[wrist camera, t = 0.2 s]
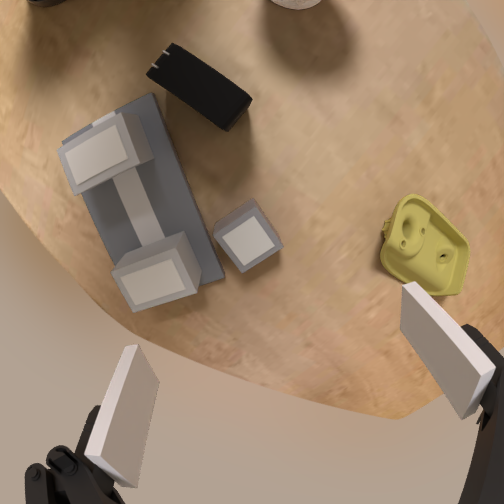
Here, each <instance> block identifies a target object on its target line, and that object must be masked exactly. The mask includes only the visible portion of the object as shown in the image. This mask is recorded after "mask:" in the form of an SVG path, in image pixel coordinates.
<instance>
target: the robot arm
mask: <svg viewBox="0 0 504 504" xmlns="http://www.w3.org/2000/svg"><path fill="white" fill-rule="evenodd" d="M27 1H29V2H30V3H32V4H34V5H37V6H40V7H48V6H53V5H56V4H59V3H61V2H63V1H65V0H27ZM400 330H401V331H402V333H403V334H404V336H405V337H406V338H407V340H408V341H409V342H410V344H411V345H412V347H413V348H414V350H415V351H416V352H417V354H418V355H419V357H420V358H421V360H422V361H423V362H424V364H425V365H426V367H427V368H428V370H429V371H430V373H431V374H432V376H433V377H434V379H435V380H436V382H437V383H438V385H439V386H440V388H441V389H442V391H443V392H444V394H445V395H446V397H447V398H448V400H449V401H450V403H451V405H452V406H453V408H454V409H455V411H456V412H457V414H458V416H459V417H460V419H461V420H463V419H465V418H467V417H468V416H470V415H472V414H474V413H475V412H476V410H477V408H478V406H479V404H480V405H481V406H482V407H483V411H482V413H481V415H480V417H479V418H478V421H477V423H476V424H479V422H480V426H479V431H478V436H477V441H476V445H475V449H474V453H473V457H472V461H471V465H470V468H469V472H468V475H467V479H466V482H465V485H464V488H463V491H462V494H461V497H460V500H459V503H458V504H504V358H503V356H502V355H501V354H500V353H499V352H498V351H497V350H496V349H495V348H494V347H493V345H492V344H491V343H489V341H488V340H487V339H486V338H485V337H483V335H482V334H481V333H480V332H479V331H478V330H477V329H476V328H474V327H472V326H470V325H468V324H465V325H463V326H461V327H460V326H459V325H458V324H457V323H456V322H455V321H454V320H453V319H452V318H451V317H450V316H449V315H448V314H447V313H446V312H445V310H444V309H443V308H442V307H441V306H440V305H439V304H438V303H437V302H436V301H435V300H434V299H433V298H432V297H431V296H430V295H429V294H428V293H427V292H426V291H425V290H424V289H423V288H422V287H420V286H419V285H418V284H417V283H416V282H415V281H414V282H411V283H408V284H404V285H402V302H401V320H400ZM158 386H159V380H158V379H157V377H156V375H155V373H154V372H153V370H152V368H151V366H150V365H149V363H148V361H147V359H146V358H145V356H144V354H143V352H142V350H141V348H140V346H139V344H135V345H128V346H125V348H124V351H123V353H122V355H121V358H120V360H119V362H118V365H117V367H116V370H115V372H114V374H113V377H112V379H111V382H110V385H109V387H108V389H107V392H106V395H105V398H104V400H103V402H102V405H100V406H98V405H97V406H95V407H94V408H93V410H92V411H91V412H90V413H89V415H88V418H87V420H86V424H85V426H84V429H83V431H82V434H81V436H80V440H79V442H78V445H77V447H76V450H75V453H73V452H72V451H71V450H70V449H69V448H68V447H66V446H63V445H59V446H56V447H54V448H53V449H52V450H50V452H49V453H48V455H47V458H46V464H47V465H48V466H49V467H50V468H51V469H46V468H45V467H44V466H43V465H42V464H39V463H35V464H32V465H30V467H28V468H27V470H26V472H25V497H26V504H125V503H124V501H123V500H122V498H121V496H120V495H119V493H118V491H117V490H116V489H115V488H114V487H113V486H114V481H115V482H117V483H118V484H119V485H120V486H122V487H130V488H137V487H138V481H139V476H140V470H141V465H142V460H143V454H144V450H145V445H146V440H147V435H148V430H149V426H150V421H151V416H152V412H153V408H154V403H155V399H156V395H157V391H158Z"/></svg>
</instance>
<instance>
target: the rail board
mask: <svg viewBox="0 0 504 504" xmlns="http://www.w3.org/2000/svg"><path fill="white" fill-rule="evenodd" d="M62 144H63V146H62V147H60V148H59V149H57V152H58V155H59V158H60V160H61V163H62V166H63V168H64V171H65V174H66V176H67V179H68V181H69V184H70V186H71V189H72V191H73V194H74V196H76V195H78V194H80V193H81V194H82V196H83V199H84V201H85V203H86V206H87V208H88V210H89V213H90V215H91V217H92V219H93V221H94V224H95V226H96V228H97V230H98V232H99V234H100V237H101V239H102V241H103V243H104V245H105V247H106V249H107V251H108V253H109V255H110V257H111V259H112V261H113V263H114V265H115V267H114V268H113V270H112V271H111V274H112V276H113V278H114V280H115V282H116V284H117V285H118V287H119V289H120V291H121V293H122V294H123V296H124V298H125V300H126V302H127V303H128V305H129V307H130V308H131V310H132V312H133V313H135V312H138V311H141V310H145V309H148V308H151V307H154V306H157V305H161V304H164V303H167V302H170V301H173V300H177V299H180V298H183V297H186V296H189V295H192V294H195V293H197V291H198V287H199V286H201V285H204V284H207V283H210V282H213V281H216V280H219V279H222V278H225V272H224V269H223V267H222V265H221V262H220V260H219V258H218V255H217V253H216V250H215V248H214V246H213V243H212V241H211V238H210V236H209V233H208V231H207V229H206V226H205V224H204V221H203V219H202V216H201V214H200V211H199V209H198V206H197V204H196V201H195V199H194V196H193V194H192V191H191V189H190V186H189V184H188V181H187V179H186V176H185V174H184V171H183V169H182V166H181V163H180V161H179V158H178V156H177V153H176V150H175V148H174V145H173V143H172V140H171V137H170V135H169V132H168V129H167V127H166V124H165V121H164V119H163V116H162V113H161V111H160V108H159V105H158V102H157V100H156V97H155V94H154V93H149V94H147V95H145V96H142V97H140V98H138V99H136V100H134V101H132V102H130V103H128V104H126V105H124V106H122V107H120V108H118V109H116V110H114V111H113V112H111V113H109V114H107V115H105V116H103V117H102V118H100V119H98V120H96V121H94V122H93V123H91V124H89V125H88V126H86V127H84V128H82V129H81V130H79V131H78V132H76V133H74V134H73V135H71V136H69V137H68V138H66V139H65V140H63V141H62Z"/></svg>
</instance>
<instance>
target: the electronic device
mask: <svg viewBox="0 0 504 504" xmlns="http://www.w3.org/2000/svg"><path fill="white" fill-rule="evenodd" d="M162 52H163V54H162V55H161V56H160V57H159V59H158V60H157V61H156V62H155V63H154V64H153V63H152V64H151V65H152V66H153V67H151V68H150V70H149V71H148V72H147V73H146V75H147V76H148V77H149V78H150V79H152V80H153V81H155V82H156V83H158V84H159V85H161V86H162V87H164V88H165V89H166V90H168V91H169V92H171V93H172V94H174V95H175V96H177V97H178V98H179V99H181V100H182V101H184V102H185V103H187V104H188V105H189V106H191V107H192V108H194V109H195V110H196V111H198V112H199V113H200V114H202V115H203V116H205V117H206V118H207V119H209V120H210V121H211V122H213V123H214V124H215V125H217V126H218V127H219V128H221V129H222V130H225V131H227V132H228V131H229V130H230V129H231V127H232V126H233V125H234V124H235V123H236V121H237V120H238V119H239V118H240V117H241V116H242V114H243V113H244V112H245V111H246V110H247V109H248V107H249V106H250V104H251V102H252V100H253V99H252V98H251V97H250V95H249V94H248V93H246V92H245V91H244V90H242V89H241V88H240V87H238V86H237V85H236V84H234V83H233V82H232V81H230V80H229V79H227V78H226V77H225V76H223V75H222V74H220V73H219V72H218V71H216V70H215V69H213V68H212V67H210V66H209V65H207V64H206V63H204V62H203V61H201V60H200V59H198V58H197V57H195V56H194V55H192V54H191V53H189V52H188V51H186V50H185V49H183V48H182V47H180V46H178V45H176V44H174V43H171V45H170V46H169V47H168V48H167V49H166V50H163V51H162ZM156 65H157V66H156ZM154 67H155V68H154Z"/></svg>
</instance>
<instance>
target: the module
mask: <svg viewBox="0 0 504 504" xmlns="http://www.w3.org/2000/svg"><path fill="white" fill-rule="evenodd" d="M213 236H214V238H215V239H216V240H217V242H218V243H219V244H220V246H221V247H222V248H223V249H224V251H225V252H226V253H227V255H228V256H229V257H230V259H231V260H232V261H233V262H234V264H235V265H236V266H237V268H238V269H239V270H240V271H241V273H244V272H245V271H247V270H249V269H250V268H252V267H253V266H255V265H256V264H258V263H260V262H261V261H263V260H264V259H266V258H267V257H269V256H271V255H272V254H274V253H275V252H277V251H278V250H280V249H282V248H283V247H284V246H283V244H282V242H281V239H280V237H279V235H278V233H277V231H276V230H275V228H274V227H273V226H272V224H271V223H270V221H269V220H268V218H267V217H266V215H265V214H264V212H263V211H262V210H261V208H260V207H259V205H258V204H257V202H256V201H255V199H254V198H252V199H250V200H249V201H247V202H246V203H244V204H243V205H241V206H240V207H238V208H237V209H235V210H234V211H232V212H231V213H230V214H228V215H227V216H225V217H224V218H222V219H221V220H219V221H218V222H216V223H215V227H214V231H213Z"/></svg>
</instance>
